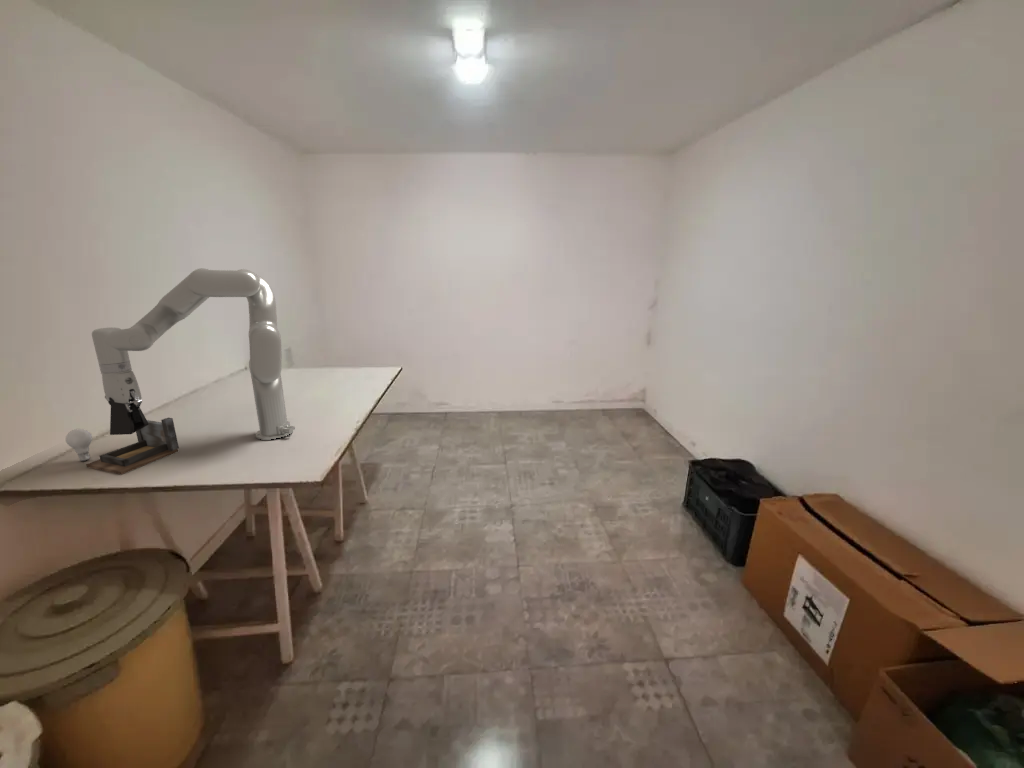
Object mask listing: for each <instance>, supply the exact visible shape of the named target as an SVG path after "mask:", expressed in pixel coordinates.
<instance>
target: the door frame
mask: <svg viewBox="0 0 1024 768" xmlns="http://www.w3.org/2000/svg"><path fill="white" fill-rule="evenodd" d="M146 420H147V421H148V423H149V424H148V425H147V426H145V427H143V428H142V429H140V430H138V431H136V432H135V435H136V437H137V442H134V443H132V444H128V445H125V446H122V447H120V448H117V449H114V450H112V451H109V452H107V453H103V454H101V455H99V459H97V460H94V461H91V462H89V463H86V468H89V469H95V470H99V471H103V472H108V473H112V474H116V475H120V476H121V475H124V474H127V473H129V472H131V471H133V470H137V469H139V468H141V467H144V466H146V465H149V464H151V463H153V462H154V463H155V462H156V461H158V460H162V459H164V458H166V457H168V456H171V455H173V454H176V453H178V451H179V449H180V446H179V443H178V442H179V441H178V437H177V433H176V428H175V424H174V419H173V418H172V417H166V418H162V419H160V421H157V420H156V421H155V420H149V419H146Z"/></svg>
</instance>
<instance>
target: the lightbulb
mask: <svg viewBox="0 0 1024 768" xmlns="http://www.w3.org/2000/svg"><path fill="white" fill-rule="evenodd" d="M92 441H93V435H92V433H91V432H90V431H89V430H88V429H85V428H75V429H72V430H70V431H68V433H67V434H66V436H65V443H66V444H67V446H69V447H70V448H71V449H73V450H74V452H75V453H76V454H77V456H78V459H79V461H81V462H86V460H87V461H89V460H90V459H91V457H90V452H89V451H90V445H91V443H92Z"/></svg>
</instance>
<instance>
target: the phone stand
mask: <svg viewBox="0 0 1024 768" xmlns="http://www.w3.org/2000/svg"><path fill="white" fill-rule="evenodd" d="M109 401H110V404H111V405H110V404H109V405H110V416H109V418H110V419H109V420H110V422H109V424H110V426H109V435H110V436H113V435H114V436H117V435H118V436H119V435H133V434H134V433H136V431H138V430H140V429H142V428H143V427H145V426H147V425H148V424H149V423H148V421H147V420H148V419H147V418H146V416H145V414H144V412H143V411H142V409H141V406H140V407H139V408H140V410H139V413H140V417H141V421H140V422H137V423H134V424H133V421H132V416H131V414H130V419H129V417H128V414H127V412H129V411H128V409H127V407H126V405H125V404H122V403H117V402H115V401H114V400H113V399H112V398H111V397H109ZM131 401H132V400H130V399H129V402H131ZM132 405H133V403H132V404H130V406H132Z"/></svg>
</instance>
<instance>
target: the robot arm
mask: <svg viewBox="0 0 1024 768" xmlns="http://www.w3.org/2000/svg"><path fill="white" fill-rule="evenodd" d="M209 298H246V300H247V303H248V314H249V317H248V318H249V319H248V320H249V329H248V340H249V344H248V345H249V361H248V367H249V372H250V378H251V379H250V380H251V385H252V390H253V391H252V392H253V396H254V403H255V410H256V416H257V421H258V426H259V427H258V428H259V429H258V431H256V433H255V438H256V439H257V440H260V439H261V440H262V441H272V440H271V439H274V440H277V439H276V438H280V439H282V438H281V437H283V438H285V437H284V436H286V435H288V436H290V435H292V434H291V433H294V431H295V429H296V427H295V425H294V426H293V425H291V424H290V422H291V421H289V420H288V418H287V416H288V415H287V410H286V409H287V408H286V403H285V402H286V401H285V395H284V388H283V381H282V375H281V374H282V338H281V334H280V331H279V329H278V322H277V319H278V317H277V304H276V303H277V302H276V298H275V294H274V292H273V289H272V288H271V286H270V285H269V283H268V282H267V281H266V280H265V279H263V277H261V276H260V275H258V274H257V273H255V272H253V271H251V270H248V269H246V268H245V269H244V268H243V269H237V270H230V269H229V270H228V269H227V270H225V269H224V270H222V269H221V270H220V269H218V270H217V269H209V268H197V269H195V270H193V271H191V272H190V274H188V275H187V276H185V278H184V279H183V280H181V281H180V282H179V283H177V285H175V287H173V288H172V289H171V290H169V292H168V291H167V293H166V294H165V295H164V296H162V297H161V299H160V300H159V301H158V303H157V304H156V305H155V306H153V308H152V309H150V311H148V313H147V314H145V315H144V316H143V317H142V318H141V319H139V320H138V321H137V322H136V323H134V324H133V325H132V326H130V327H129V328H122V329H121V328H119V327H101V328H97V329H94V330H93V331H92V332H91V337H92V342H93V346H94V350H95V353H96V357H97V363H98V366H99V371H100V374H101V379H102V386H103V392H104V394H105V395H104V399H105V400H106V401H107V403H108V404H109V406H111V404H110V401H109V397H111V398H112V399H113V400H114V401H115V402H117V403H122V404H125V405H126V407H127V409H128V411H129V412H127V414H128V417H129V419H130V414H131V416H132V421H133V424H134V423H137V422H140V421H141V417H140V413H139V410H140V409H141V405H142V403H143V400H142V399H143V397H142V393H141V390H140V387H139V383H138V381H137V377H136V375H135V373H134V370H133V369H132V365H131V360H130V356H129V352H142V351H143V352H144V351H147V350H149V349H150V348H151V347H152V346H153V345H154V344H155V342H157V341H158V340H159V339H160V338H161V337H163V335H165V333H167V332H168V331H169V330H170V329H171V328H172V327H174V325H176V324H177V323H180V322H181V321H183V320H185V319H186V318H187V317H189V316H190V315H192V313H193V312H194V311H195V310H197V309H198V308H199V307H200V306H201V305H203V303H205V302H206V301H207V300H208V299H209ZM129 399H130V400H132V401H131V402H129ZM132 403H133V405H132V406H130V404H132ZM139 407H140V408H139ZM289 434H290V435H289ZM286 437H287V436H286Z"/></svg>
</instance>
